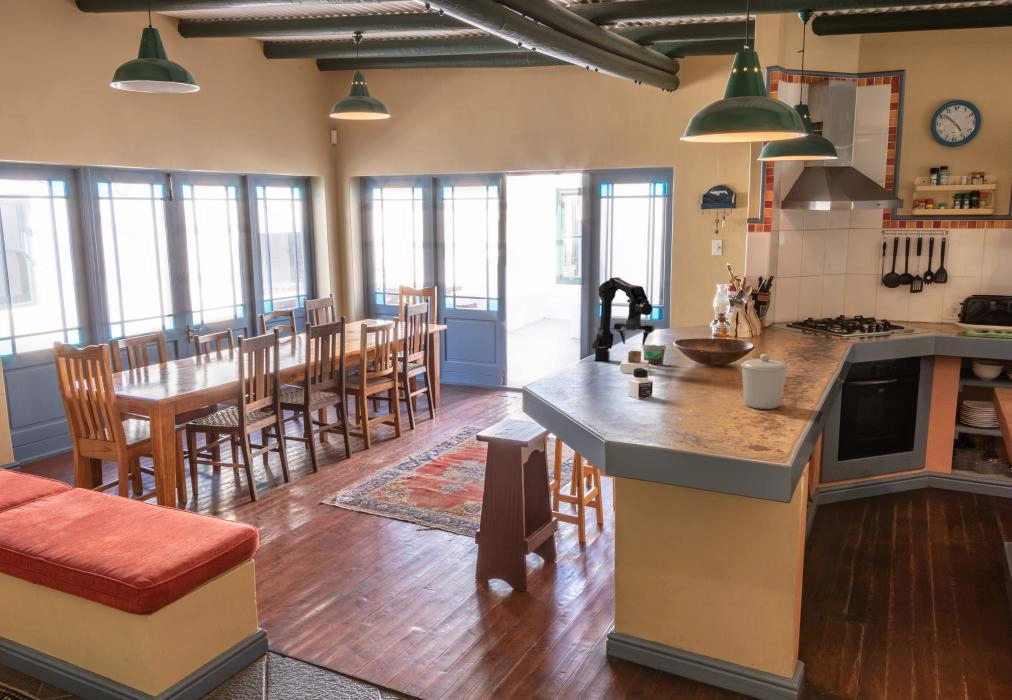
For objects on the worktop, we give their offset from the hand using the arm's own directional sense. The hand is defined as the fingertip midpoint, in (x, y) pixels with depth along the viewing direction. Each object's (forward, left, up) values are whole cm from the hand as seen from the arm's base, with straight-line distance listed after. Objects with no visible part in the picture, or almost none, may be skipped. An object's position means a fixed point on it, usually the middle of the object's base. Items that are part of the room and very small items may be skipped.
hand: (633, 344), depth 382 cm
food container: (+5, +19, -13) cm, 24 cm away
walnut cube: (+1, -2, -8) cm, 8 cm away
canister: (+64, -51, -13) cm, 83 cm away
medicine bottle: (+16, -54, -13) cm, 57 cm away
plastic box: (+1, -2, -13) cm, 13 cm away
